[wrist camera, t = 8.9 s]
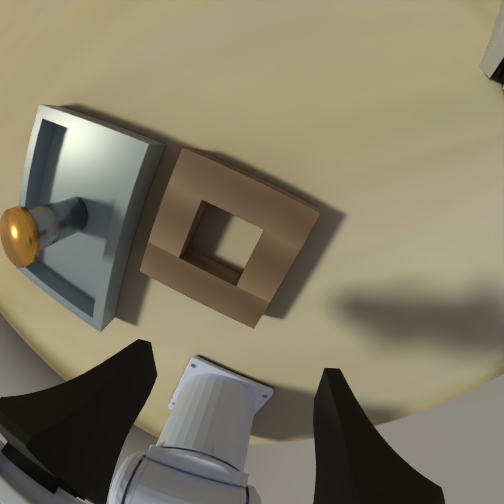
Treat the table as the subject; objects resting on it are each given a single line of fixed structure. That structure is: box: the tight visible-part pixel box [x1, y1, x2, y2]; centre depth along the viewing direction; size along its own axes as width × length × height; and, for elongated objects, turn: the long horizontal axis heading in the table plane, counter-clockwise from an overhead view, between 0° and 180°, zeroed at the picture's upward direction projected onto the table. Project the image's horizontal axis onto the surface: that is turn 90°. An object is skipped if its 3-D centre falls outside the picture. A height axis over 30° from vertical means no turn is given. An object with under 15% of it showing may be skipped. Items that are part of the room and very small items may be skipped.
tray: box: [16, 105, 166, 332], centre depth 19 cm, size 16×12×2 cm
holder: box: [140, 148, 320, 328], centre depth 18 cm, size 9×9×2 cm
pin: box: [0, 196, 88, 268], centre depth 16 cm, size 4×4×7 cm
